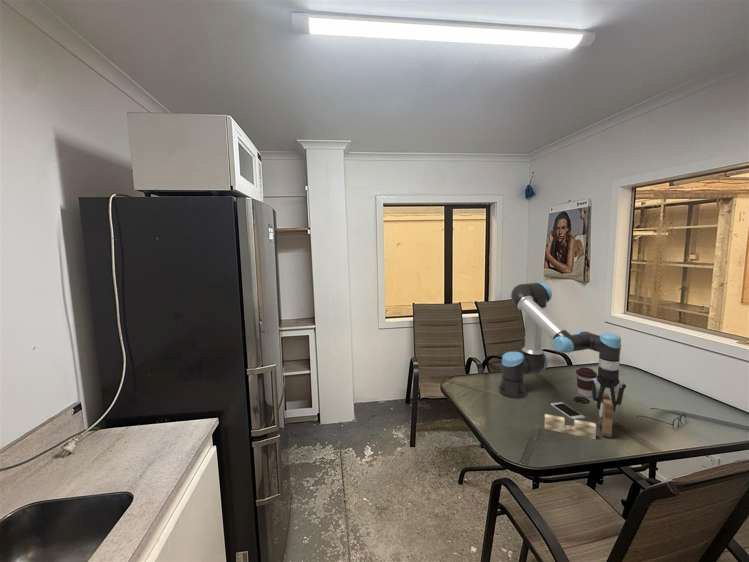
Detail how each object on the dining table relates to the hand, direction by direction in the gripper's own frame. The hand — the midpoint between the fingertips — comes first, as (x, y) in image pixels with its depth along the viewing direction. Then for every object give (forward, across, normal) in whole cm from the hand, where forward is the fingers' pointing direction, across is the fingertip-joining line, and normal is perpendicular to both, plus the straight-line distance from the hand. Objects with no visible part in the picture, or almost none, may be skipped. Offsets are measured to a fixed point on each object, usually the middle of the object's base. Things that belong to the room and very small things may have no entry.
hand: (605, 416), depth 144 cm
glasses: (+8, +26, +23) cm, 36 cm away
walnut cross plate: (+7, 0, 0) cm, 7 cm away
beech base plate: (+7, -15, -7) cm, 18 cm away
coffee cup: (+8, -3, +38) cm, 39 cm away
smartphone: (+8, -14, +14) cm, 21 cm away
